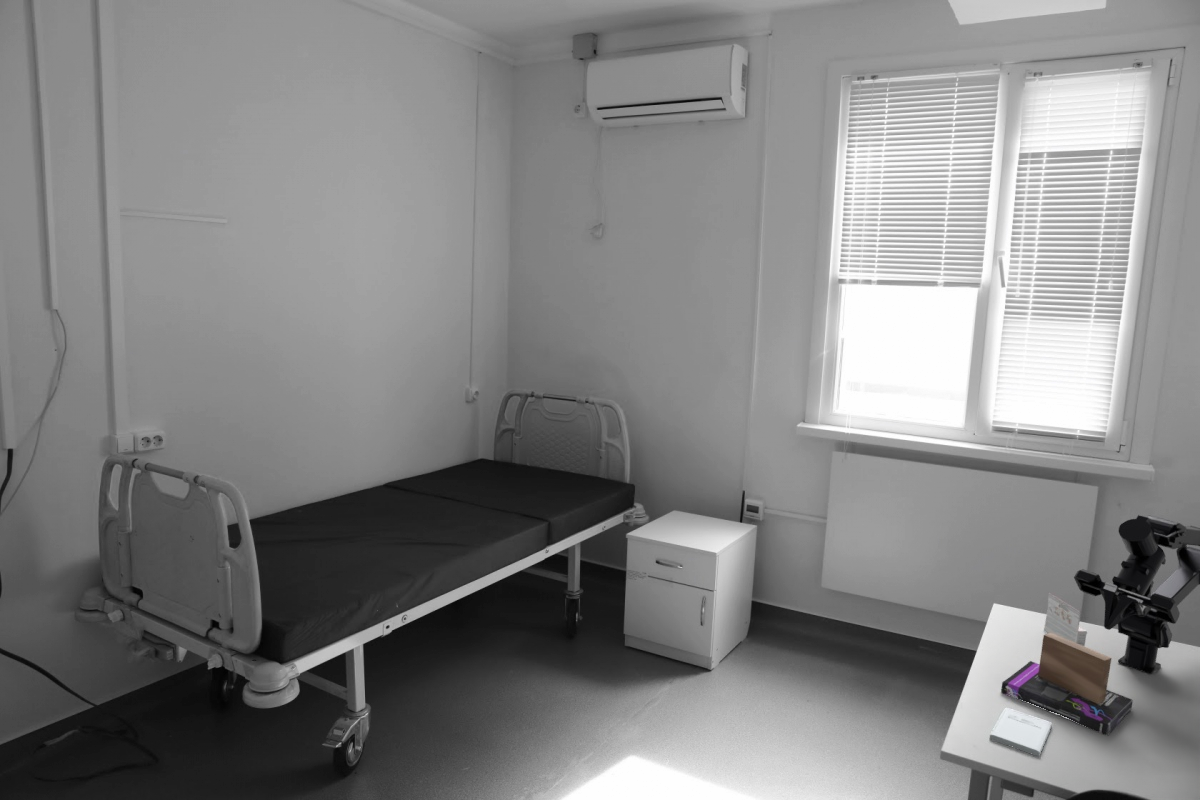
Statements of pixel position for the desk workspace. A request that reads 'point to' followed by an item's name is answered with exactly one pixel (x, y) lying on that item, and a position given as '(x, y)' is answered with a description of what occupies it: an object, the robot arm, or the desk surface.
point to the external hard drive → (1021, 731)
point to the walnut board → (1074, 667)
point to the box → (1067, 700)
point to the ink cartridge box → (1064, 621)
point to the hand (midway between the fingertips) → (1106, 628)
